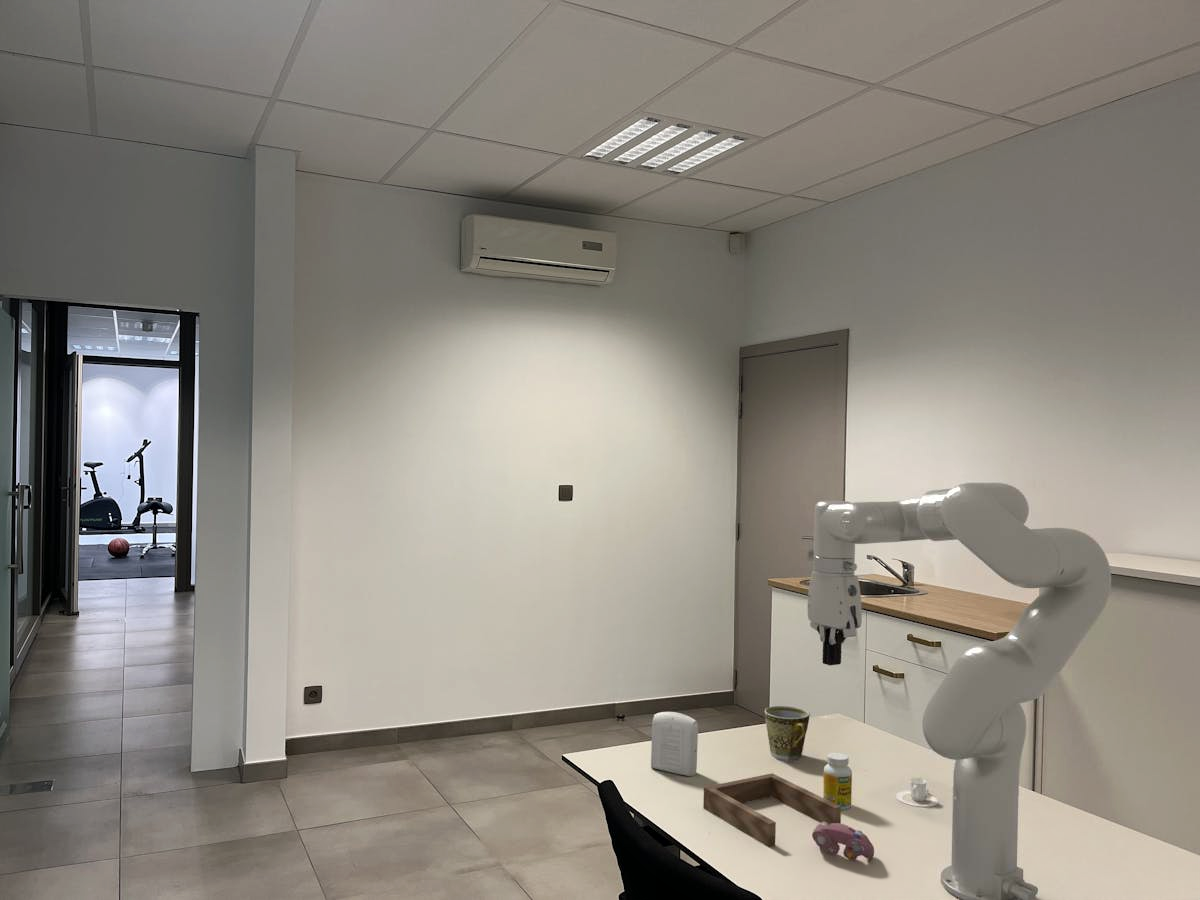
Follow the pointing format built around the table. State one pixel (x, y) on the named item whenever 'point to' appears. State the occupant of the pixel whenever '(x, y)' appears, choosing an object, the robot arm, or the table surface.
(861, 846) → the video game controller
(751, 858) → the table surface
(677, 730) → the photo printer
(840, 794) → the supplement bottle
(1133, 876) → the table surface
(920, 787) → the teacup and saucer
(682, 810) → the table surface
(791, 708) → the ceramic cup
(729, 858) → the table surface
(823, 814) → the frame
